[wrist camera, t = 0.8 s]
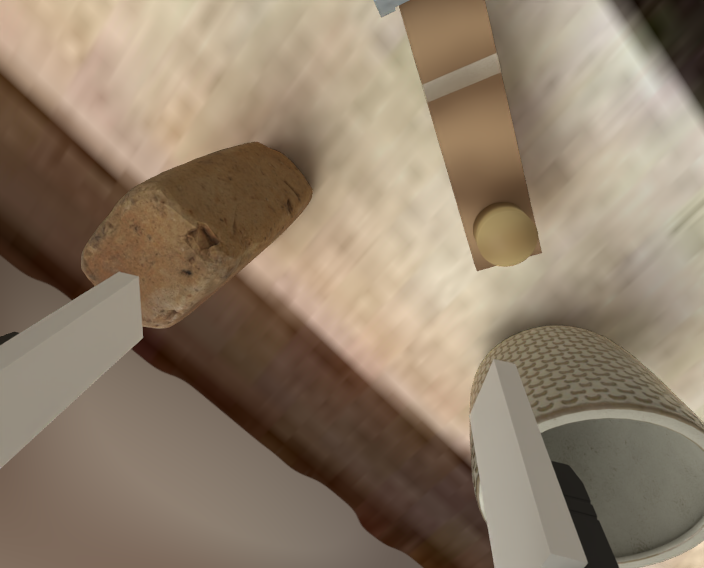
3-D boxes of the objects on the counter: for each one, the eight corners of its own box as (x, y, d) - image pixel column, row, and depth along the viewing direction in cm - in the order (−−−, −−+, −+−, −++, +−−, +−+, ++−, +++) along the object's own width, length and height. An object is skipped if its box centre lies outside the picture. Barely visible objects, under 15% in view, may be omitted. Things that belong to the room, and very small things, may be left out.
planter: (604, 434, 46) (689, 588, 31) (450, 419, 48) (463, 556, 34) (650, 300, 39) (788, 420, 24) (465, 290, 41) (491, 394, 27)
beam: (365, -104, 29) (342, -192, 20) (432, -143, 28) (439, -257, 19) (467, 243, 39) (482, 286, 30) (521, 226, 37) (553, 267, 28)
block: (273, 128, 37) (138, 158, 19) (326, 192, 39) (248, 273, 21) (201, 201, 41) (35, 281, 23) (253, 255, 43) (134, 369, 25)
